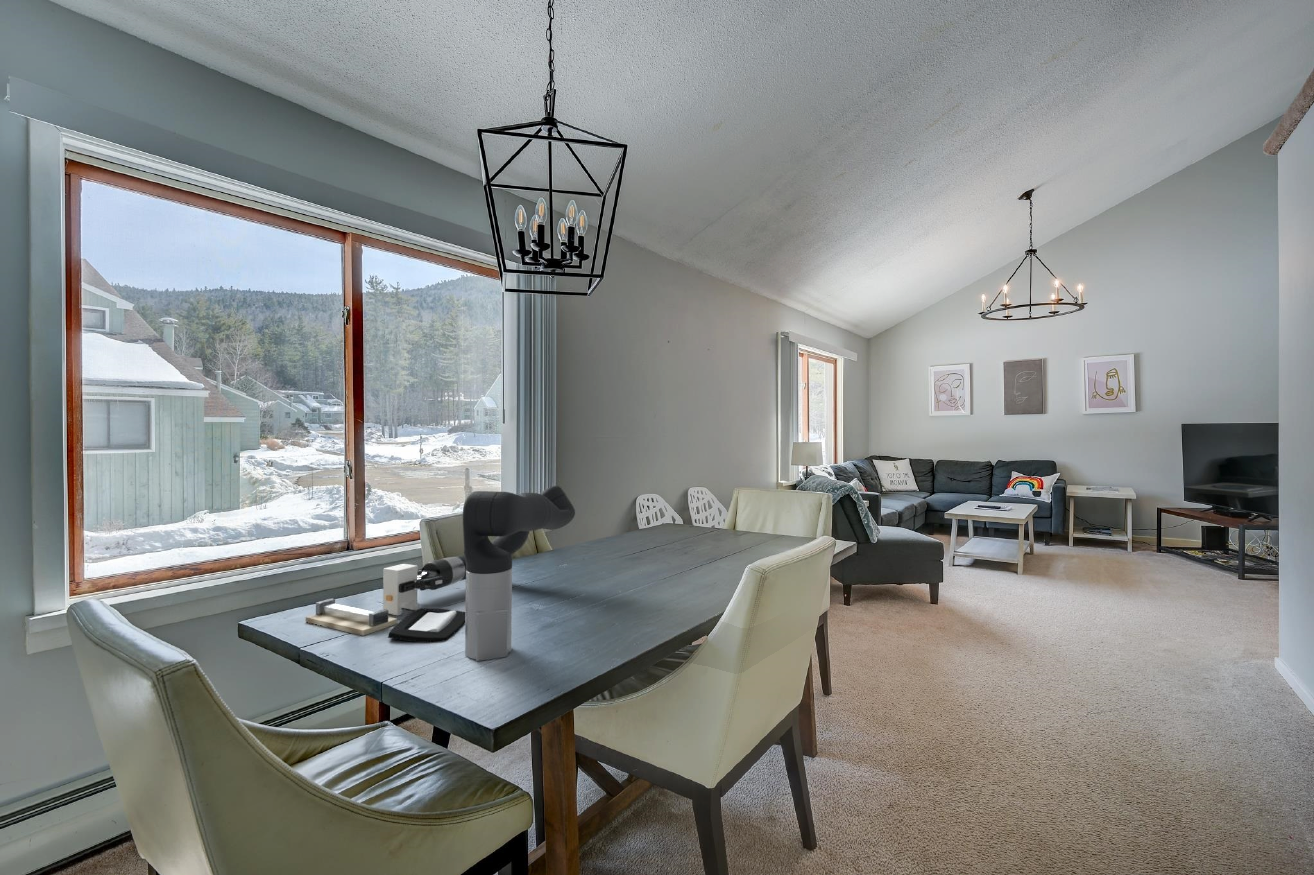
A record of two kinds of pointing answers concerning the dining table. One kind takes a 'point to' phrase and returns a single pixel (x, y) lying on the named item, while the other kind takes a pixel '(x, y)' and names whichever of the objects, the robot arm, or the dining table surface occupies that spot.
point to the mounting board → (348, 624)
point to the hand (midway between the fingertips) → (391, 587)
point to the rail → (351, 613)
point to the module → (391, 588)
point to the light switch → (428, 625)
